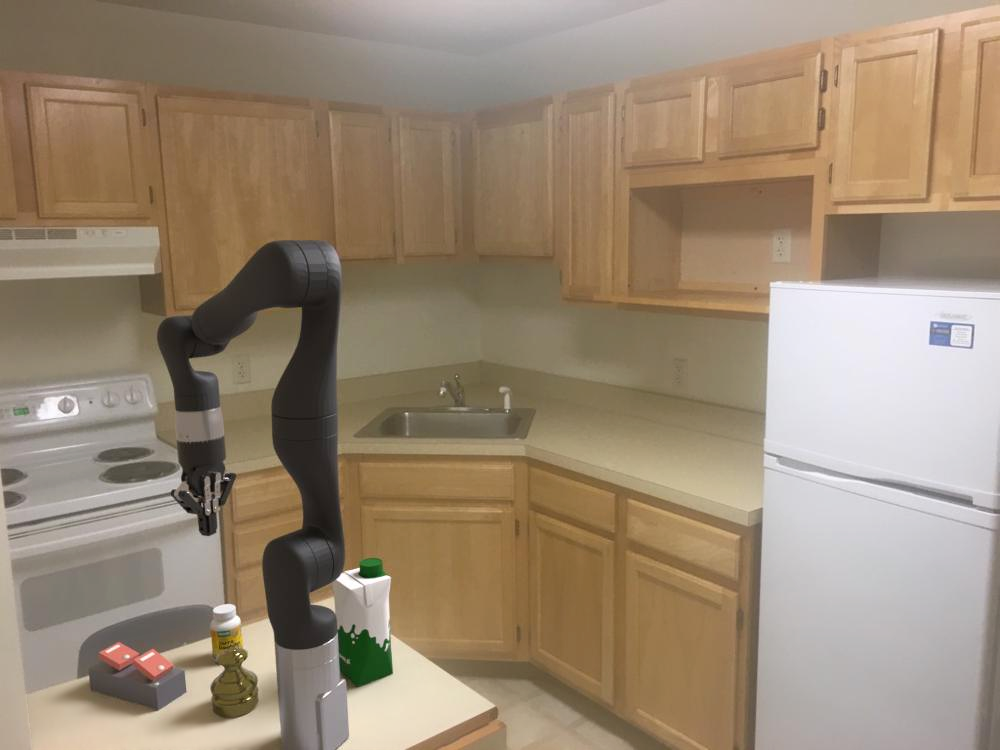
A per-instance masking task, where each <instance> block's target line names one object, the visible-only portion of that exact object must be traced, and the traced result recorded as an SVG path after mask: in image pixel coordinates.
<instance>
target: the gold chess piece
mask: <svg viewBox="0 0 1000 750" xmlns="http://www.w3.org/2000/svg"><path fill="white" fill-rule="evenodd" d="M248 652H249V651H248V650H246V649H245V648H244V647H243V648H238V647H230V648H228V649H226V650H224V651H222V652H221V653H219V654H218V655H217V657H216V662H215V663H217V664H218V665H219V666H221V667H223V670H222V672H220V673H219V675H218V676H216V677H215V678H214V679H213V680H212V682H211V684H210V692H211V699H210V700H211V705H212V706H211V707H212V712H213V713H214V715H216V716H217V717H220V718H235V717H236V718H237V717H240V716H243V715H246V714H248V713H250V712H251V711H253V710H254V709H255V708H257V706H258V704H259V703H260V702H259V700H260V699H259V696H260V695H259V690H260V689H259V687H258V676H257V674H256V673H255V672H254V671H252V670H249V669H247V668H246V667H244V666H243V663H244V662H245V661H246V660H247V658H248V656H249V653H248Z"/></svg>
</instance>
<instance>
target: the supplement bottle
mask: <svg viewBox="0 0 1000 750" xmlns="http://www.w3.org/2000/svg"><path fill="white" fill-rule="evenodd" d="M212 618H213V619H212V621H210V625H209V626H210V638H211V647H212V649H211V651H212V658H213V661H214V662H215V663H217V662H216V657H217V655H218V654H219V653H221V652H222V651H224V650H226V649H228V648H230V647H238V648H243V649H244V643H243V633H242V631H243V630H242V621H241V618H240V616H238V615H237V607H236V605H235V604H231V603H226V604H219V605H218V606H216V607H214V608H213V609H212Z"/></svg>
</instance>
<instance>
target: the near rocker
mask: <svg viewBox="0 0 1000 750" xmlns="http://www.w3.org/2000/svg"><path fill="white" fill-rule="evenodd" d="M132 665H133V666H134V667H135V668H136V669H138V670H139V671H140V672H141V673H143V674H142V675H144V676H146V677H147V678H149V679H150V680H151V681H152V682H154V681H156V680H157V679H159V678H161V677H162V676H164V675H165V674H167V673H169V672H170V671H172V669H173V667H175V666H174V664H173V663H172V662H171V661H169V660H168V659H167V658H166V657H165V656H163V655H162V654H161V653H159V652H158V651H157V650H156V649H154V648H151V649H150V650H148V651H146V652H144V653H142V654H141V655H139V657H137V658H136V659H134V660H133V664H132Z"/></svg>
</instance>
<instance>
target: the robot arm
mask: <svg viewBox="0 0 1000 750" xmlns="http://www.w3.org/2000/svg"><path fill="white" fill-rule="evenodd" d="M342 290H343V274H342V265H341V262H340V257H339V255H338V253H337V251H336V249H335V248H334V246H333V245H331V244H330V243H329V242H327V241H325V240H312V239H311V240H310V239H309V240H307V239H302V240H301V239H288V240H287V239H285V240H284V239H282V240H281V239H280V240H273V241H269V242H267V243H265V244H264V245H263V246H261V247H260V248H258V250H256V252H254V254H253V255H252V256H250V258H249V259H248V261H246V263H245V264H244V266H243V267H242V268H241V269H240V270H239V271H238V272H237V273H236V275H235V276H234V277H233V278H232V280H230V282H229V283H228V284H227V286H226V287H224V288H223V289H221V290H220V291H219V292H217V293H216V294H214V295H212V297H210V298H209V299H207V300H206V301H203V302H202V303H201V304H199V306H197V307H196V309H195V310H194V311H193V313H192V314H189V315H175V316H170V317H166V318H165V319H163V320H162V321H161V322H160V324H159V326H158V327H157V332H156V341H157V345H158V348H159V351H160V354H161V356H162V359H163V361H164V363H165V367H166V368H167V372H168V374H169V376H170V381H171V384H172V387H173V396H174V397H173V399H174V409H175V418H174V425H175V428H174V430H175V437H176V449H177V451H176V452H177V459H178V463H179V465H180V466H181V467H180V468H182V472H181V475H180V481H181V483H180V484H179V486H178V487H177V489H174V488H173V489H172V490H171V491H170V496H171V497H172V498H173V499H174V500H175V501H176V502H177V504H178V505H179V506H180V507H181V508H182V509H183V510H184V511H185V512H186V513H187V514H192V515H196V516H197V525H198V531H199V534H201V536H203V537H204V536H205V537H210V536H213V535H215V534H217V530H218V517H217V512H218V511H219V508H220V507H221V506H225V505H226V503H227V500H228V498H229V496H230V493H231V491H232V488H233V487H234V483H235V481H236V478H237V474H236V473H235V472H229V470H226V465H225V464H224V463H225V462H224V461H226V458H227V452H226V451H227V450H226V449H227V448H226V440H225V439H226V438H225V437H226V436H225V427H224V426H225V425H224V418H223V413H222V408H221V396H220V385H219V378H218V376H217V375H216V374H215V373H214V372H211V371H207V370H206V371H205V370H204V371H203V370H195V369H194V368H193V366H192V364H191V362H190V359H198V358H205V357H206V358H207V357H212V356H215V355H218V354H220V353H222V352H224V351H225V349H226V348H227V347H228V345H229V344H230V342H231V340H233V339H235V338H237V337H239V336H241V335H242V334H243V333H245V332H246V331H248V330H249V329H250V328H251V327H252V326H253V325H254V323H255V322H256V320H257V317H258V313H259V312H261V311H264V310H268V309H273V308H281V309H295V308H296V309H297V308H301V323H300V332H299V336H298V341H297V345H296V347H295V349H294V351H293V354H292V356H291V357H290V360H289V361H288V363H287V366H285V369H284V370H283V373H282V374H281V376H280V377H279V380H278V382H277V384H276V387H275V390H274V392H273V396H272V400H271V406H270V408H271V438H272V445H273V446H272V447H273V450H274V452H275V455H276V456H277V459H279V462H280V463H281V465H282V466H283V467H284V469H285V470H286V472H287V473H288V474H289V476H290V477H291V478H292V480H293V481H294V483H295V485H296V486H297V489H298V490H299V494H300V497H301V505H302V526H301V528H300V529H296V530H294V531H292V532H289V533H286V534H283V535H281V536H278V537H276V538H273V539H272V540H270V541H269V542H268V543H267V544H266V545H265V547H264V550H263V554H262V559H261V560H262V562H261V567H262V570H261V571H262V577H263V585H264V592H265V602H266V611H267V614H268V615H267V616H268V620H269V623H270V625H271V629H272V632H273V640H274V655H275V668H276V669H275V670H276V682H277V683H276V684H277V686H276V687H277V697H278V711H279V714H278V715H279V725H280V736H281V737H280V738H281V739H280V740H281V749H282V750H336V749H338V748H339V747H340V746H341V745H342V744H343V743H344V742H345V741H346V740H347V739H348V738H350V728H349V727H350V726H349V725H350V724H349V711H348V709H349V708H348V691H347V681H346V679H345V678H342V677H341V672H340V664H339V647H338V628H337V617H336V614H335V610H334V611H333V609H331V608H329V607H327V606H323V605H319V604H311V597H310V594H311V593H313V592H315V591H317V590H320V589H322V588H324V587H326V586H328V585H329V584H332V582H333V581H335V580H336V579H337V578H338V577H339V576H340V575H341V573H343V571H344V567H345V563H346V545H345V536H344V534H345V533H344V525H343V519H342V511H341V510H342V509H341V499H340V486H339V465H338V464H339V463H338V459H339V458H338V457H339V456H338V453H339V452H338V448H339V447H338V441H339V413H338V410H339V409H338V408H339V407H338V390H337V389H338V387H337V385H338V384H337V383H338V382H337V380H338V379H337V378H338V377H337V376H338V374H337V372H338V371H337V370H338V369H337V368H338V367H337V365H338V342H339V341H338V339H339V328H340V327H339V325H340V315H341V305H342V292H343V291H342Z"/></svg>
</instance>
